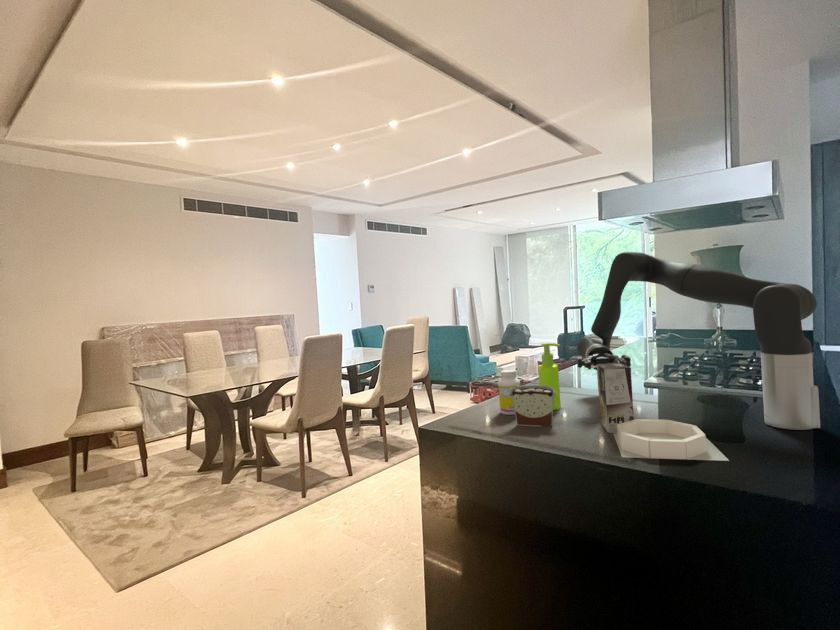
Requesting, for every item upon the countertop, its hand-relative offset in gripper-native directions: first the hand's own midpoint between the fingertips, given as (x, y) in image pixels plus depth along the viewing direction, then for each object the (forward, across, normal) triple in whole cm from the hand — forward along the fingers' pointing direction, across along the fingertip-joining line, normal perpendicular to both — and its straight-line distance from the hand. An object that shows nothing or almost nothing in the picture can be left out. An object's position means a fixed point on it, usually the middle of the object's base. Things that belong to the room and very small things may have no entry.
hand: (606, 365), depth 120 cm
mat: (+25, +8, +14) cm, 30 cm away
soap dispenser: (-10, -15, +15) cm, 23 cm away
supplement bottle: (-4, -27, +15) cm, 31 cm away
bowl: (+25, +7, +13) cm, 29 cm away
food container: (+7, -19, +15) cm, 25 cm away
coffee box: (+12, 0, +14) cm, 18 cm away
